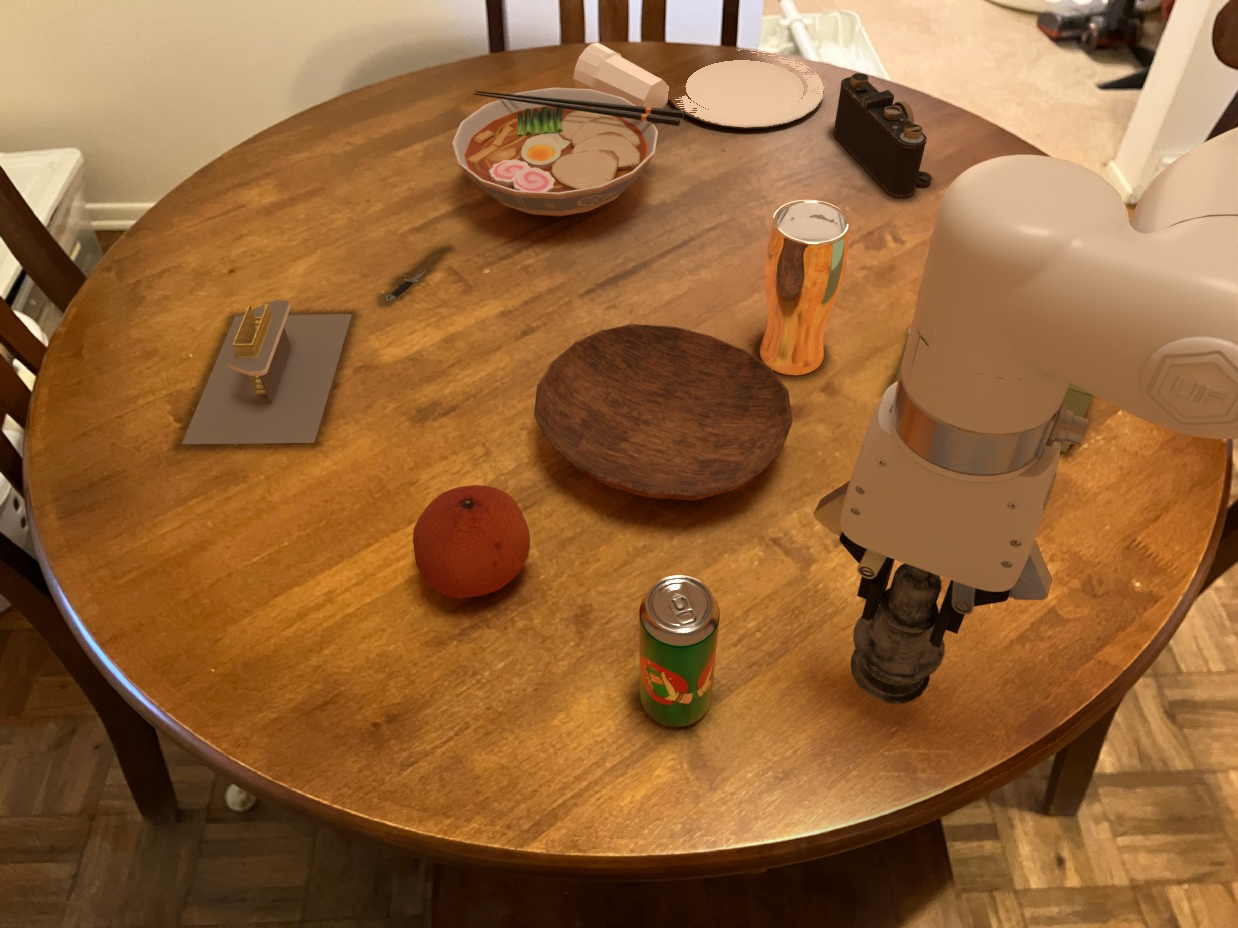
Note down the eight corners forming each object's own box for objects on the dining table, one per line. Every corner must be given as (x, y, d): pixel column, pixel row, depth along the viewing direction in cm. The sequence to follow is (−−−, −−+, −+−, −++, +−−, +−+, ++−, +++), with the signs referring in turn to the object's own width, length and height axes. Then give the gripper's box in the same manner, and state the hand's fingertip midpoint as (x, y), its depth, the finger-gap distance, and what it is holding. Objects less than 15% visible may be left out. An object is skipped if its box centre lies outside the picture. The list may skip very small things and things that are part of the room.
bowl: (727, 569, 76) (732, 530, 72) (495, 471, 84) (489, 431, 80) (819, 414, 88) (827, 373, 84) (608, 339, 95) (606, 298, 91)
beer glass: (795, 390, 90) (816, 255, 78) (739, 353, 93) (753, 220, 82) (842, 355, 93) (870, 221, 82) (787, 321, 96) (806, 189, 85)
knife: (443, 250, 106) (442, 247, 106) (455, 255, 105) (454, 252, 105) (377, 300, 100) (376, 296, 100) (390, 305, 100) (389, 302, 99)
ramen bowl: (418, 231, 108) (405, 165, 102) (499, 131, 122) (491, 68, 116) (632, 271, 102) (631, 204, 96) (690, 161, 117) (692, 96, 111)
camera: (941, 191, 111) (958, 126, 105) (889, 202, 110) (903, 137, 104) (873, 122, 122) (885, 60, 116) (825, 132, 121) (834, 69, 115)
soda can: (693, 657, 71) (700, 559, 62) (722, 716, 68) (734, 622, 59) (629, 680, 70) (626, 584, 61) (656, 741, 67) (658, 649, 58)
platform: (181, 444, 86) (153, 391, 82) (235, 315, 98) (214, 262, 94) (314, 442, 86) (294, 389, 81) (352, 314, 98) (337, 260, 93)
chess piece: (895, 724, 63) (931, 622, 54) (828, 665, 66) (851, 559, 58) (952, 672, 66) (995, 567, 57) (884, 617, 69) (915, 509, 60)
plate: (850, 85, 129) (852, 73, 128) (775, 155, 118) (776, 142, 117) (716, 47, 137) (716, 35, 136) (633, 109, 126) (633, 96, 125)
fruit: (504, 509, 81) (493, 443, 75) (550, 586, 75) (542, 521, 69) (403, 550, 78) (384, 485, 72) (444, 633, 73) (426, 570, 67)
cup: (634, 100, 118) (568, 68, 122) (644, 137, 124) (581, 105, 128) (667, 62, 119) (600, 31, 123) (676, 101, 125) (612, 70, 129)
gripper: (1163, 410, 47) (1054, 620, 61) (836, 319, 53) (803, 529, 66) (1139, 517, 43) (1027, 717, 56) (786, 404, 49) (761, 611, 62)
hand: (907, 614), depth 61 cm, fingers closed on chess piece, 3 cm apart
